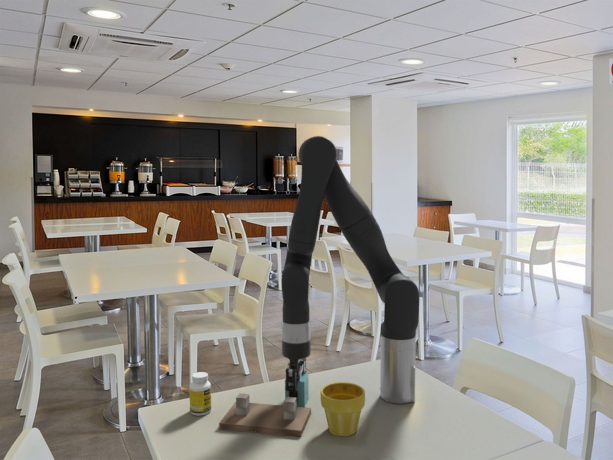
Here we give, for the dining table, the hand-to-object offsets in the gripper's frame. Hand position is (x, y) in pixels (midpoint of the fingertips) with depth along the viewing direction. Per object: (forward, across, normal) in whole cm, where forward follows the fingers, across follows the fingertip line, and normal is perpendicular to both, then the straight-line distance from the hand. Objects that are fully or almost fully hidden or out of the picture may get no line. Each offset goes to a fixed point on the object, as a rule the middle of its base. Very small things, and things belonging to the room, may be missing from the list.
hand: (296, 397), depth 143 cm
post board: (+1, -12, +5) cm, 13 cm away
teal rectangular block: (+1, 0, 0) cm, 1 cm away
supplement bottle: (+1, -10, +23) cm, 25 cm away
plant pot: (+1, -13, -14) cm, 19 cm away
